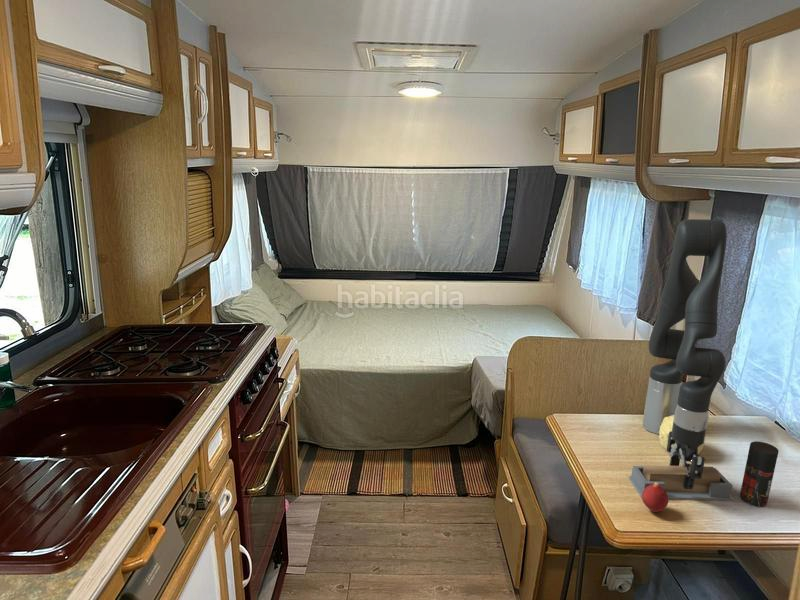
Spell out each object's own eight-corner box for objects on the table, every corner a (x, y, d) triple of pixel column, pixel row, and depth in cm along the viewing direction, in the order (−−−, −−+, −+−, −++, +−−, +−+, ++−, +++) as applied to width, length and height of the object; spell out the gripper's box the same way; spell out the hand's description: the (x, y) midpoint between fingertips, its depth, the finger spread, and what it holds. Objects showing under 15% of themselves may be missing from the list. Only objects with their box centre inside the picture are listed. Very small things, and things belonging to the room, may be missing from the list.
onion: (658, 503, 137) (663, 475, 135) (670, 518, 132) (675, 489, 130) (636, 503, 137) (640, 476, 135) (646, 518, 132) (651, 490, 130)
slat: (641, 481, 145) (643, 465, 144) (709, 483, 145) (712, 466, 144) (647, 490, 142) (650, 473, 140) (717, 492, 141) (720, 475, 140)
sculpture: (655, 438, 169) (660, 406, 166) (698, 446, 165) (704, 413, 162) (658, 457, 159) (663, 423, 156) (704, 465, 155) (710, 431, 152)
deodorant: (741, 490, 143) (752, 438, 140) (768, 499, 140) (779, 446, 136) (737, 500, 139) (748, 448, 135) (765, 510, 135) (777, 456, 131)
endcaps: (628, 478, 148) (630, 464, 147) (713, 480, 148) (716, 466, 147) (641, 498, 139) (643, 484, 138) (732, 500, 139) (735, 486, 138)
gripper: (662, 409, 145) (654, 464, 150) (689, 436, 132) (679, 495, 136) (690, 410, 145) (681, 464, 150) (720, 437, 131) (709, 496, 136)
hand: (680, 479), depth 143 cm, fingers open, 7 cm apart
